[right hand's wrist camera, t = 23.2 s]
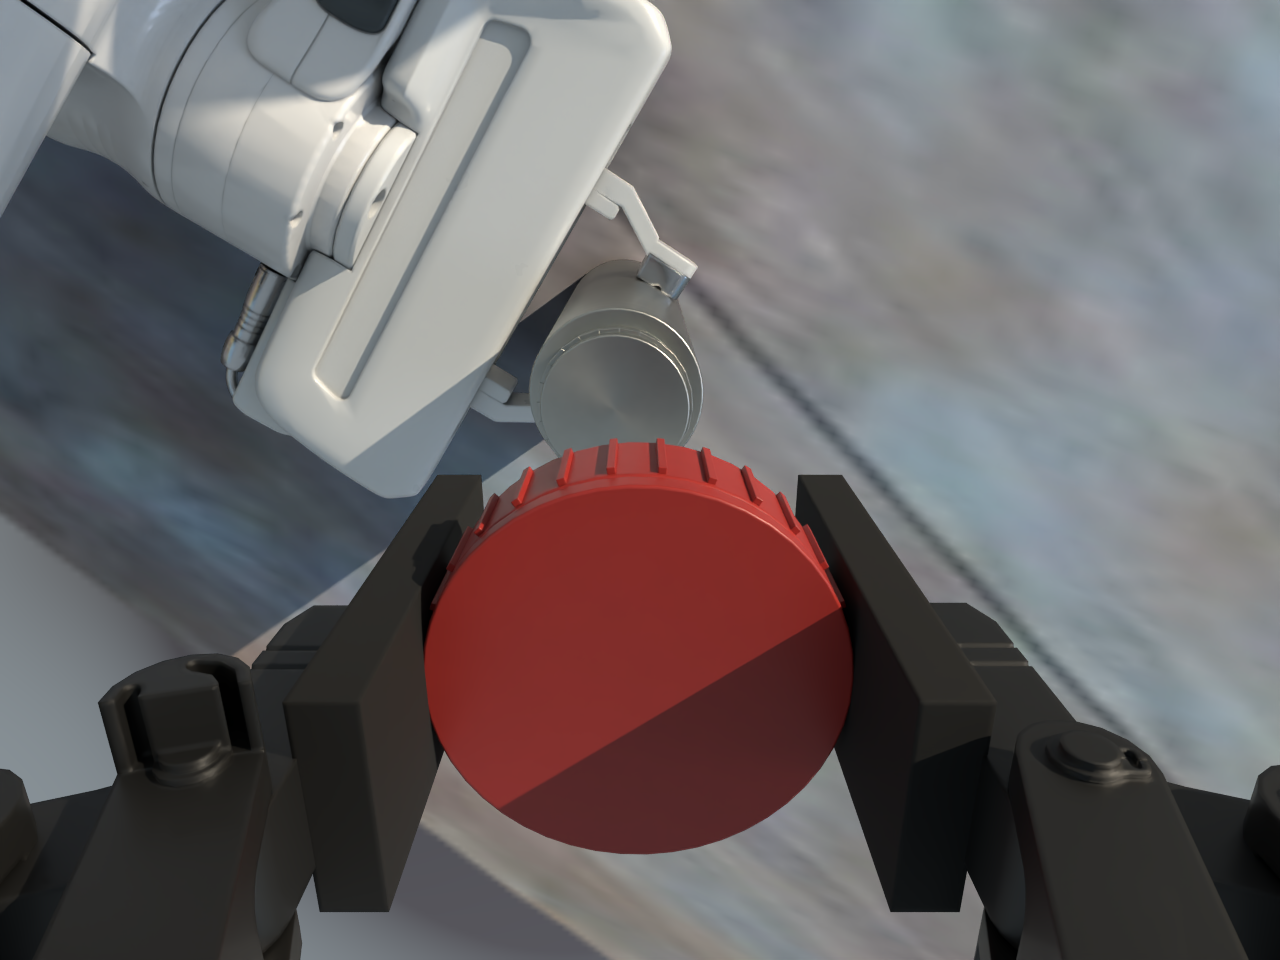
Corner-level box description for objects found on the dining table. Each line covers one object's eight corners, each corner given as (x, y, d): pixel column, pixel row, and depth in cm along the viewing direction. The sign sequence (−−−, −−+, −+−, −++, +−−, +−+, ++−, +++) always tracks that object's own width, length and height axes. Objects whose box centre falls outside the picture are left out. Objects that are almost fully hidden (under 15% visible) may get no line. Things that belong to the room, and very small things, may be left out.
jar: (563, 263, 36) (510, 323, 22) (677, 255, 36) (703, 309, 21) (573, 375, 38) (533, 501, 23) (682, 368, 38) (711, 490, 23)
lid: (476, 396, 11) (448, 435, 9) (880, 482, 11) (922, 533, 10) (423, 738, 13) (391, 820, 11) (770, 801, 13) (789, 889, 12)
